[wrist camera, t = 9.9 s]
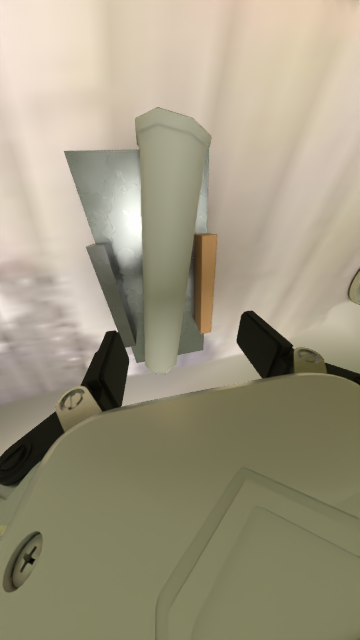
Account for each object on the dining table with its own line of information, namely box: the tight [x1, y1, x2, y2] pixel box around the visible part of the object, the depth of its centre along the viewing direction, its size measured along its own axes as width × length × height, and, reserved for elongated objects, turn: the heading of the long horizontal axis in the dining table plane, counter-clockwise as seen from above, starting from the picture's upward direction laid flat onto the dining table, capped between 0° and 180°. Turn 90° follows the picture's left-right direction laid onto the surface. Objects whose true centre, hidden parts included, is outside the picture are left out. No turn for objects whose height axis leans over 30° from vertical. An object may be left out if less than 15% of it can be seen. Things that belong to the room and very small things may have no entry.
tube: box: [135, 107, 211, 374], centre depth 17 cm, size 5×5×25 cm
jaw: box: [194, 233, 217, 334], centre depth 19 cm, size 2×12×3 cm, turn 4°
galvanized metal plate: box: [64, 149, 209, 363], centre depth 19 cm, size 12×25×4 cm, turn 4°
